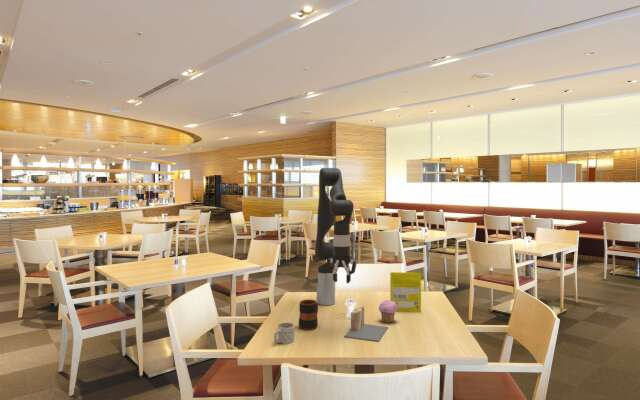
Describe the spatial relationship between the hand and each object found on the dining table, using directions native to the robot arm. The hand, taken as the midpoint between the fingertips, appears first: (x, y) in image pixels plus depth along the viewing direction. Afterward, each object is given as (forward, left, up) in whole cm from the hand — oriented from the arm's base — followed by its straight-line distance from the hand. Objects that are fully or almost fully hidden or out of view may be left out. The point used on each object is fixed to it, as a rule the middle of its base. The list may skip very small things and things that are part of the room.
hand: (341, 282), depth 193 cm
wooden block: (+6, -1, -17) cm, 18 cm away
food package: (+22, +36, -22) cm, 47 cm away
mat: (+12, 0, -21) cm, 24 cm away
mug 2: (-15, -1, -22) cm, 26 cm away
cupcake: (+17, +18, -22) cm, 33 cm away
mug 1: (-18, -23, -22) cm, 36 cm away
